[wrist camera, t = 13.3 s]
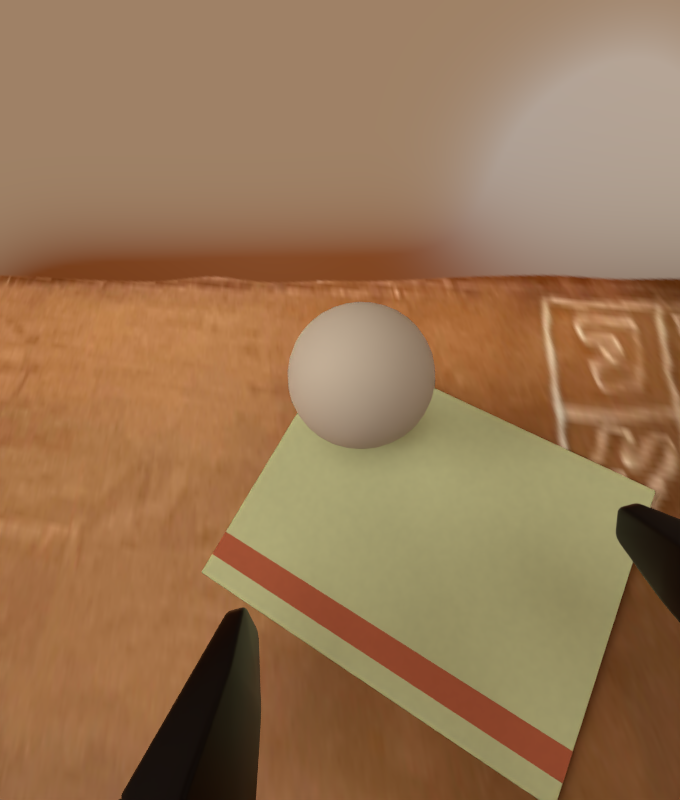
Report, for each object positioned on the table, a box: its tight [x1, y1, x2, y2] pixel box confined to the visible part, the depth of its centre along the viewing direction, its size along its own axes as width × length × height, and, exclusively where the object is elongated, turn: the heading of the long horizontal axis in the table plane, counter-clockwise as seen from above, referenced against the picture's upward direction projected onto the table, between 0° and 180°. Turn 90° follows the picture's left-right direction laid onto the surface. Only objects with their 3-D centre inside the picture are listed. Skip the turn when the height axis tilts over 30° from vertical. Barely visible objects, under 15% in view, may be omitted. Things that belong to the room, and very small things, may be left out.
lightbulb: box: [288, 302, 435, 449], centre depth 19 cm, size 6×6×11 cm
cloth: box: [202, 388, 655, 800], centre depth 22 cm, size 20×16×1 cm
